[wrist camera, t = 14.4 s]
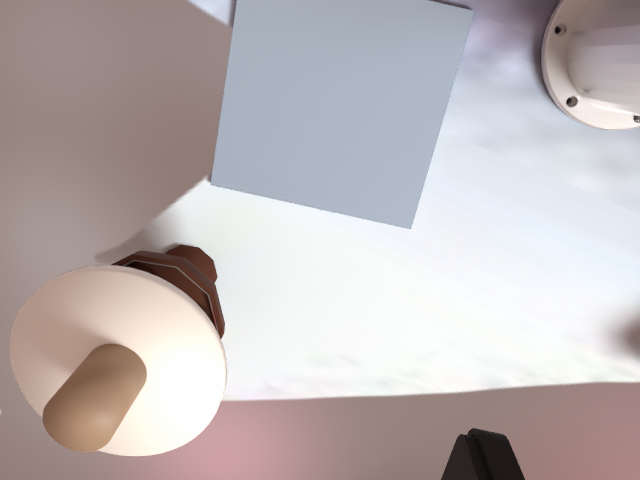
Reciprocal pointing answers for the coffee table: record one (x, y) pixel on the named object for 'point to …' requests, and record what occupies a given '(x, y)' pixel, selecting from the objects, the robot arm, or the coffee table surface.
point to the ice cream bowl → (184, 276)
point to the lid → (118, 361)
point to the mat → (338, 102)
